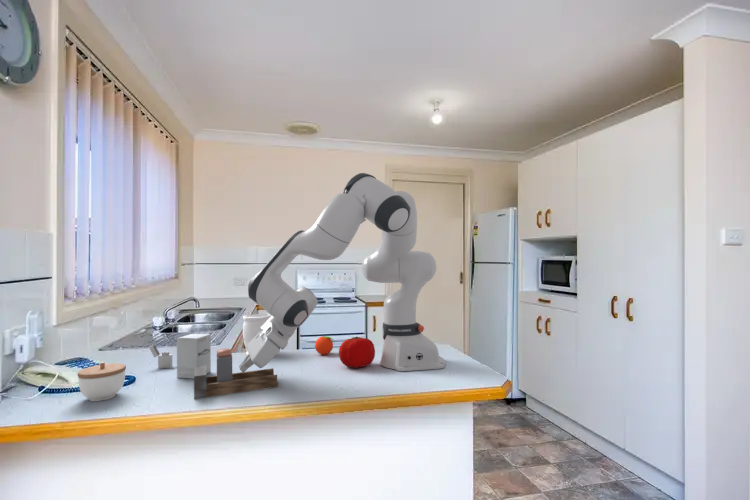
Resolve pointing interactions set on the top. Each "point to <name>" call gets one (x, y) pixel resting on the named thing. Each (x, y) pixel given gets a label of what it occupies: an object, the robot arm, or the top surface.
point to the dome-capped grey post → (224, 365)
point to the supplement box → (193, 354)
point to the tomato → (357, 352)
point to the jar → (252, 326)
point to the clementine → (324, 345)
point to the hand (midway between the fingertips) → (241, 369)
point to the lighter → (162, 357)
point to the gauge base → (232, 382)
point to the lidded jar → (101, 381)
